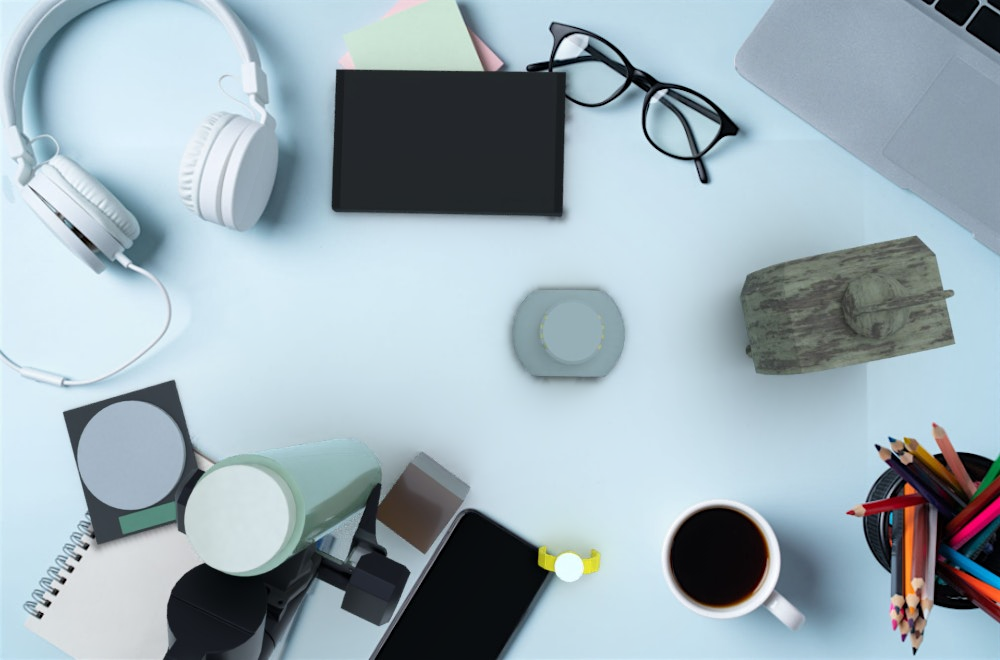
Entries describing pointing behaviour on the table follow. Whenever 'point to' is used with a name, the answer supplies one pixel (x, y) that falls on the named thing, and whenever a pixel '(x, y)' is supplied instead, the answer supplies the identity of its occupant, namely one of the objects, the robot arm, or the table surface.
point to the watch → (569, 564)
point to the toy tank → (846, 308)
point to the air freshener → (568, 333)
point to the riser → (422, 502)
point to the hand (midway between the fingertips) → (341, 467)
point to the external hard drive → (449, 142)
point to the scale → (131, 459)
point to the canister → (277, 503)
